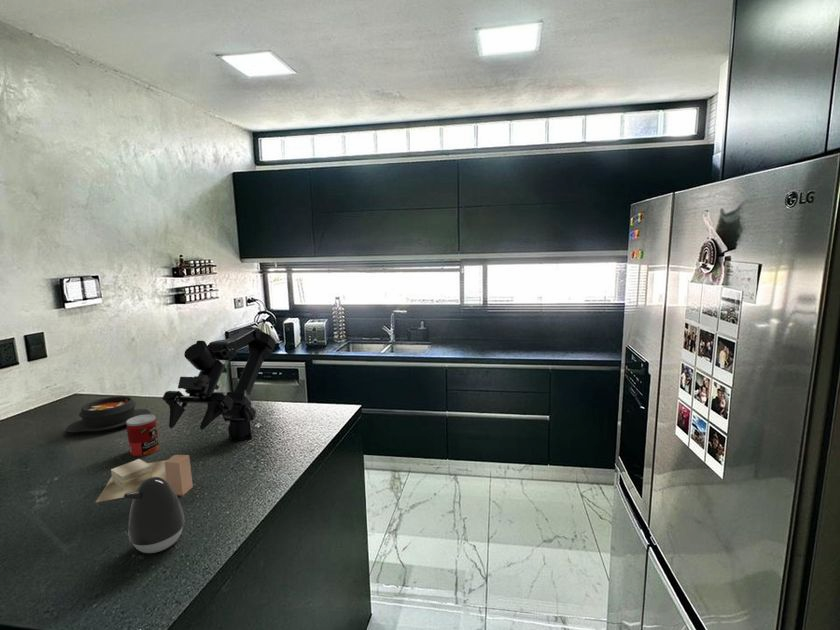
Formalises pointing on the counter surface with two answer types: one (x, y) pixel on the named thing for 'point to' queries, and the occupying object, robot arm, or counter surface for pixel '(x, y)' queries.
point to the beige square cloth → (117, 492)
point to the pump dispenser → (154, 516)
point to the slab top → (131, 470)
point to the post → (179, 474)
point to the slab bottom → (132, 481)
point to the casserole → (106, 414)
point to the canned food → (142, 435)
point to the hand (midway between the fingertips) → (185, 428)
